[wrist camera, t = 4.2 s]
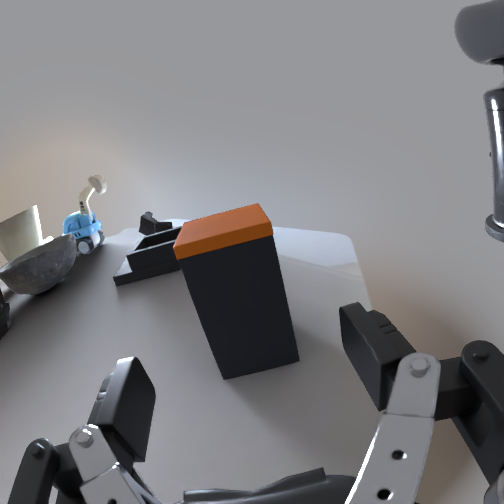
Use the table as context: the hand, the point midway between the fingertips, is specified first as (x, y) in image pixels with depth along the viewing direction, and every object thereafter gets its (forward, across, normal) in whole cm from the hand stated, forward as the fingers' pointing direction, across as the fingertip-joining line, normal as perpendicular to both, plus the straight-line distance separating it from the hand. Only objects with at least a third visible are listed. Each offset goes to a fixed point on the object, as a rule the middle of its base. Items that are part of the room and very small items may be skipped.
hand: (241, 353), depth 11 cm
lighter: (+54, -16, -7) cm, 57 cm away
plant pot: (+56, -54, -7) cm, 78 cm away
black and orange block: (+10, 0, -7) cm, 12 cm away
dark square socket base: (+38, -13, -7) cm, 41 cm away
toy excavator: (+60, -35, -7) cm, 70 cm away
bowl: (+40, -38, -7) cm, 56 cm away
